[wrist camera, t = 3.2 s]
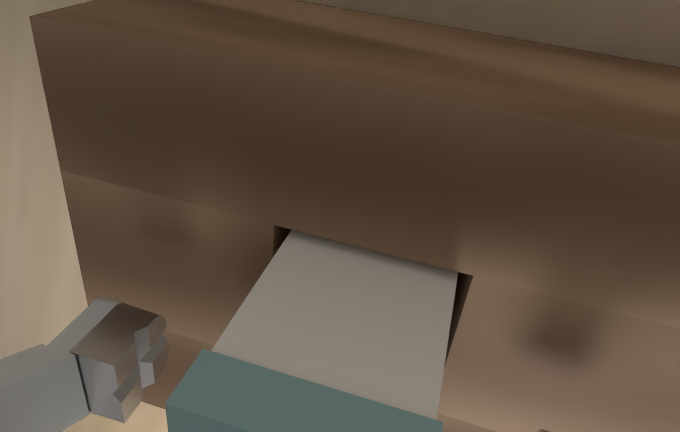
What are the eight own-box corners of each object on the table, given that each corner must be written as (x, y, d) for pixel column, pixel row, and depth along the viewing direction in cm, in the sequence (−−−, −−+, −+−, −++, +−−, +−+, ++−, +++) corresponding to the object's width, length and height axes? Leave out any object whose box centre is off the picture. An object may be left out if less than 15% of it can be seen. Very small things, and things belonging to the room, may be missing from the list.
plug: (448, 269, 19) (387, 618, 10) (335, 241, 19) (180, 540, 10) (477, 165, 16) (433, 492, 7) (348, 137, 17) (165, 403, 8)
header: (580, 390, 20) (603, 554, 15) (194, 281, 23) (104, 389, 18) (749, 79, 13) (889, 187, 8) (178, -20, 16) (29, 16, 11)
